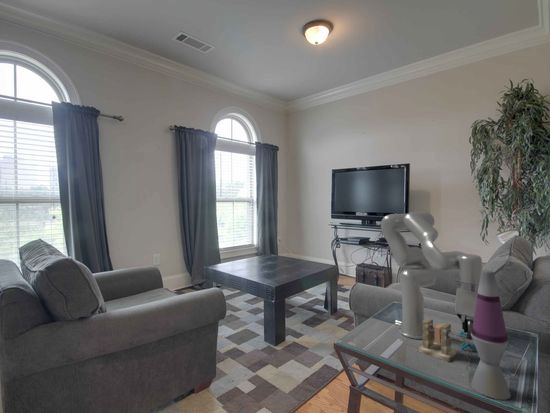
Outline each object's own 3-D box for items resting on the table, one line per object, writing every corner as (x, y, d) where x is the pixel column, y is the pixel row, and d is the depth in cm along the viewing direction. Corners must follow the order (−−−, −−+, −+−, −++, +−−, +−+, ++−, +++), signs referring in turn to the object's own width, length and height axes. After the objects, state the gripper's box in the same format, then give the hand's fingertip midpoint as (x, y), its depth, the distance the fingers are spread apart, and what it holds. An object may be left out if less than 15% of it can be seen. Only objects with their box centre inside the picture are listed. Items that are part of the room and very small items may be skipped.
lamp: (516, 392, 96) (513, 271, 96) (502, 404, 90) (499, 276, 90) (479, 376, 105) (477, 266, 105) (465, 386, 99) (462, 270, 99)
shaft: (424, 331, 125) (424, 310, 125) (427, 329, 127) (427, 308, 127) (475, 346, 111) (475, 322, 111) (478, 344, 113) (477, 320, 113)
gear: (485, 355, 117) (463, 333, 121) (473, 363, 118) (452, 342, 122) (480, 347, 127) (461, 327, 131) (469, 355, 128) (450, 335, 132)
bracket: (417, 351, 124) (416, 322, 124) (426, 343, 131) (426, 315, 131) (448, 362, 115) (447, 330, 115) (457, 353, 122) (456, 323, 122)
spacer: (434, 342, 121) (434, 327, 121) (440, 337, 125) (440, 323, 125) (439, 344, 119) (439, 328, 119) (445, 339, 123) (445, 324, 123)
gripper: (444, 284, 117) (445, 329, 117) (494, 292, 105) (495, 343, 105) (450, 280, 122) (451, 324, 122) (499, 288, 110) (500, 337, 110)
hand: (471, 332), depth 113 cm, fingers closed on shaft, 3 cm apart
